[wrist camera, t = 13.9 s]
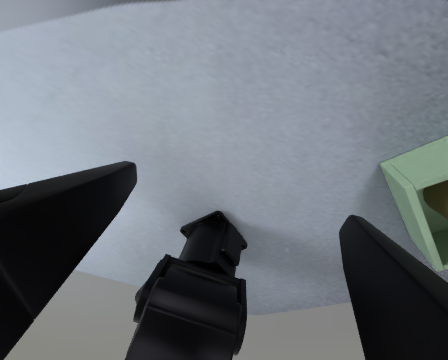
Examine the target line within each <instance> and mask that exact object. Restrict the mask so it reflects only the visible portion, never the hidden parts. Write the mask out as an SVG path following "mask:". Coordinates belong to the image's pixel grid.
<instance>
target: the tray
mask: <svg viewBox="0 0 448 360" xmlns="http://www.w3.org/2000/svg"><path fill="white" fill-rule="evenodd" d="M380 167H381V169H382V171H383V174H384V176H385V178H386V181H387V183H388V186H389V188H390V190H391V193H392V195H393V197H394V200H395V202H396V205H397V207H398V209H399V212H400V214H401V216H402V219H403V221H404V224H405V226H406V228H407V231H408V233H409V236H410V238H411V239H412V241H413V242H414V243H415V244H416V246H417V247H418V248H419V250H420V251H421V252H422V253H423V255H424V256H425V257H426V259H427V260H428V261H429V263H430V264H431V265H432V266H433V268H434V269H435V270H436V271H442V270H444V269H445V270H448V219H446V218H445V217H443V216H442V215H440V214H439V213H437V212H436V211H435V210H433V209H432V208H430V207H429V206H428V205H427V203H426V202H425V201H424V197H423V190H424V188H425V187H428V186H431V185H434V184H437V183H439V182H442V181H445V180H448V136H445V137H443V138H441V139H438V140H436V141H433V142H431V143H428V144H426V145H423V146H421V147H419V148H416V149H414V150H411V151H409V152H406V153H404V154H402V155H399V156H397V157H394V158H392V159H389V160H387V161H384V162H382V163H380Z"/></svg>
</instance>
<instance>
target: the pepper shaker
mask: <svg viewBox="0 0 448 360" xmlns="http://www.w3.org/2000/svg"><path fill="white" fill-rule="evenodd" d="M423 197H424V201H425V202H426V203H427V205H428V206H429V207H430V208H432V209H433V210H435V211H436V212H437V213H439V214H440V215H442V216H443V217H445V218H446V219H448V180H445V181H442V182H439V183H437V184H434V185H431V186H428V187H425V188H424V190H423Z"/></svg>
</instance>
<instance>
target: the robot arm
mask: <svg viewBox="0 0 448 360" xmlns="http://www.w3.org/2000/svg"><path fill="white" fill-rule="evenodd" d="M136 183H137V170H136V164H135V163H133V162H128V161H123V162H118V163H114V164H110V165H105V166H101V167H97V168H93V169H88V170H84V171H80V172H76V173H71V174H67V175H63V176H59V177H54V178H50V179H46V180H42V181H37V182H33V183H29V184H28V185H27V184H24V185H20V186H16V187H11V188H7V189H2V190H0V360H4V358H5V357H6V356H7V355H8V353H9V352H10V351H11V349H12V348H13V347H14V346H15V345H16V343H17V342H18V341H19V339H20V338H21V337H22V336H23V334H24V333H25V332H26V330H27V329H28V328H29V327H30V325H31V324H32V323H33V322H34V319H36V317H37V316H38V315H39V314H40V312H41V311H42V310H43V309H44V307H45V306H46V305H47V303H48V302H49V301H50V299H51V298H52V297H53V296H54V294H55V293H56V292H57V291H58V289H59V288H60V287H61V286H62V284H63V283H64V282H65V280H66V279H67V278H68V277H69V275H70V274H71V273H72V271H73V270H74V269H75V268H76V266H77V265H78V264H79V263H80V261H81V260H82V259H83V257H84V256H85V255H86V254H87V252H88V251H89V250H90V248H91V247H92V246H93V245H94V243H95V242H96V241H97V240H98V238H99V237H100V236H101V234H102V233H103V232H104V231H105V229H106V228H107V227H108V225H109V224H110V223H111V222H112V220H113V219H114V218H115V217H116V215H117V214H118V213H119V211H120V210H121V208H122V206H123V205H124V203H125V202H126V200H127V198H128V197H129V195H130V193H131V192H132V190H133V189H134V187H135V185H136ZM217 215H219V216H217ZM180 232H181V233H182V234H183V235H184V236H185V237H186V238H187V241H186V243H185V246H184V248H183V250H182V253H181V255H180V257H179V259H177V258H174V257H171V255H168V254H166V255H165V256H164V258H163V259H162V260H160V262H159V263H158V264H157V266H156V268H155V269H154V271H153V272H152V274H151V276H150V277H149V279H148V280H147V281H146V282H145V284H144V285H143V286H142V287H141V288H140V289H139V290H138V292H137V293H136V296H135V301H136V303H137V305H136V310H135V314H134V319H133V320H134V322H136V323H138V325H137V328H136V330H135V333H134V336H133V338H132V341H131V343H130V346H129V348H128V351H127V355H126V358H125V360H232V357H233V355H237V354H238V353H239V351H240V349H241V346H242V342H243V339H244V334H245V329H246V321H247V299H246V280H245V279H242V278H240V279H239V278H236V277H235V270H236V266H238V265H239V261H240V254H241V250H244V249H246V248H247V243H246V241H245V240H244V239H243V237H242V236H241V234H240V233H239V232H238V231H237V230H236V228H235V227H234V226H233V225H232V224H231V223H230V222H229V221H228V220H227V218H226V217H225V216H224V215H223V214H222V212H220V211H215V212H213V213H211V214H209V215H207V216H204V217H202V218H200V219H198V220H196V221H194V222H191V223H189V224H187V225H185V226H183V227H182V228H181V230H180ZM339 238H340V246H341V254H342V262H343V269H344V273H345V278H346V282H347V286H348V290H349V294H350V298H351V302H352V306H353V311H354V315H355V319H356V323H357V327H358V331H359V335H360V339H361V343H362V348H363V352H364V356H365V360H448V283H447V282H446V281H445V280H443V279H442V278H441V277H440V276H438V275H437V274H436V273H434V272H433V271H432V270H430V269H429V268H428V267H427V266H425V265H424V264H423V263H421V262H420V261H419V260H417V259H416V258H415V257H413V256H412V255H411V254H410V253H408V252H407V251H406V250H404V249H403V248H402V247H400V246H399V245H398V244H397V243H395V242H394V241H393V240H391V239H390V238H389V237H387V236H386V235H385V234H383V233H382V232H381V231H380V230H378V229H377V228H376V227H374V226H373V225H372V224H370V223H369V222H368V221H367V220H365V219H364V218H362V217H360V216H356V215H350V216H349V217H348V218H347V219H346V221H345V222H344V224H343V225H342V227H341V229H340V231H339Z"/></svg>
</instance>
